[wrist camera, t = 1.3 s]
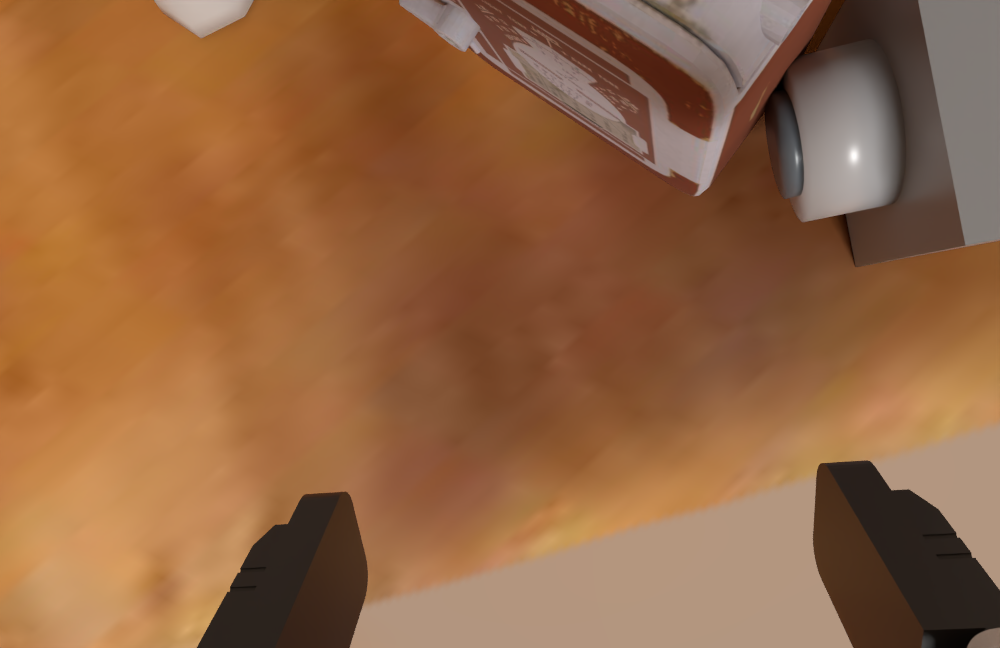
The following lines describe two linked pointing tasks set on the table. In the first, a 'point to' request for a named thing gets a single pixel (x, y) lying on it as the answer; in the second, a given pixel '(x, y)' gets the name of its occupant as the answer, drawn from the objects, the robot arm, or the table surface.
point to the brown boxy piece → (641, 67)
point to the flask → (204, 13)
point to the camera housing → (895, 127)
